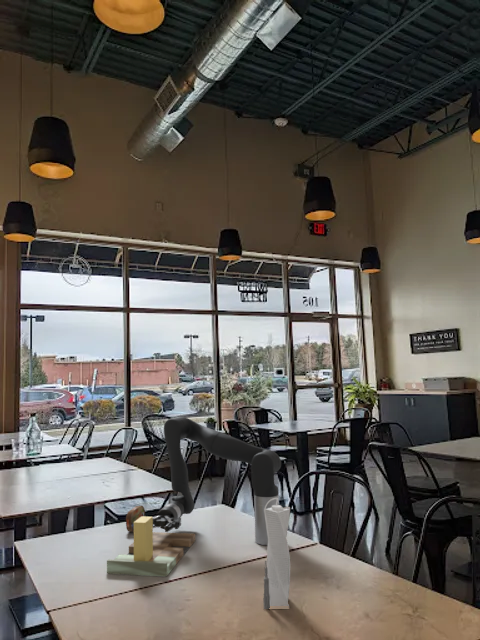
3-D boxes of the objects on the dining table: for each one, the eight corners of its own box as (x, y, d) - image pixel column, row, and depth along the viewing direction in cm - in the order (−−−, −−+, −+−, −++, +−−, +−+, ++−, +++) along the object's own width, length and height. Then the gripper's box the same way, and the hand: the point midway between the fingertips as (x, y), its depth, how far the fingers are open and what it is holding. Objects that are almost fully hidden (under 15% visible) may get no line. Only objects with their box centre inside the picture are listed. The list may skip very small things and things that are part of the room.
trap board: (145, 538, 203) (145, 527, 203) (195, 540, 199) (195, 529, 200) (106, 573, 168) (106, 560, 169) (166, 576, 165) (166, 563, 165)
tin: (131, 534, 208) (131, 513, 209) (124, 534, 209) (124, 512, 210) (146, 523, 223) (145, 503, 224) (139, 523, 223) (139, 503, 224)
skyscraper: (263, 597, 149) (261, 496, 152) (291, 597, 149) (288, 496, 152) (263, 610, 141) (261, 504, 144) (293, 610, 141) (290, 504, 143)
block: (141, 555, 177) (141, 516, 178) (152, 556, 176) (152, 516, 177) (133, 563, 170) (133, 522, 171) (145, 564, 169) (145, 522, 170)
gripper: (186, 526, 199) (173, 540, 183) (151, 525, 201) (135, 539, 185) (186, 506, 199) (173, 518, 183) (150, 505, 202) (135, 517, 186)
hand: (154, 528), depth 184 cm, fingers open, 8 cm apart
